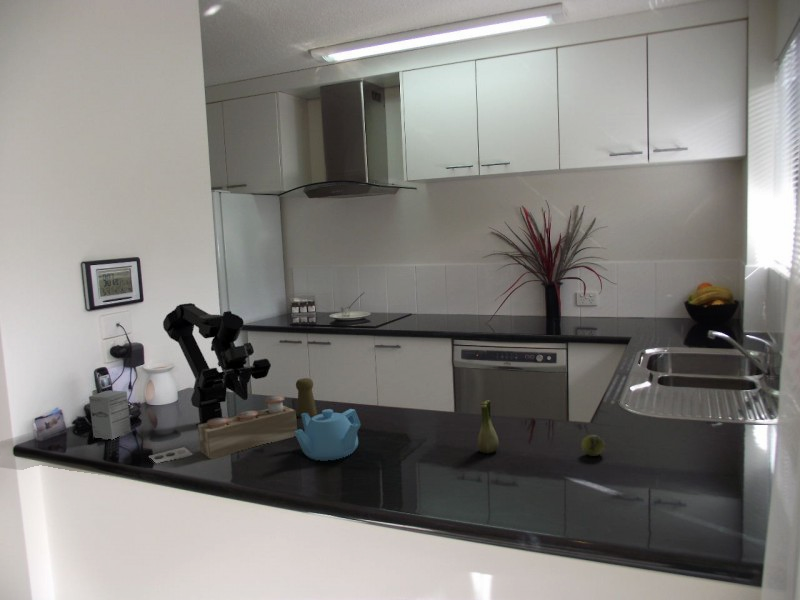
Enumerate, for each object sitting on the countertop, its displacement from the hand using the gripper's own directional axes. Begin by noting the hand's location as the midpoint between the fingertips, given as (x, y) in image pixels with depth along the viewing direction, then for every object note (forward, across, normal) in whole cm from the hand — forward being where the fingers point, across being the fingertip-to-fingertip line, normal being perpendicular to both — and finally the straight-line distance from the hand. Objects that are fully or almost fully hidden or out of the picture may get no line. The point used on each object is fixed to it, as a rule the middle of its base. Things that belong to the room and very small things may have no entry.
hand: (245, 399), depth 164 cm
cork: (0, +24, +18) cm, 29 cm away
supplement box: (-18, -26, +35) cm, 48 cm away
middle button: (+6, 0, +6) cm, 9 cm away
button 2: (+5, +8, +5) cm, 10 cm away
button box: (+8, 0, +9) cm, 12 cm away
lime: (+58, +53, -40) cm, 88 cm away
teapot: (+24, +12, -7) cm, 28 cm away
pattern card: (+4, -19, +13) cm, 23 cm away
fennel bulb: (+44, +39, -26) cm, 65 cm away
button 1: (+6, -8, +6) cm, 12 cm away
